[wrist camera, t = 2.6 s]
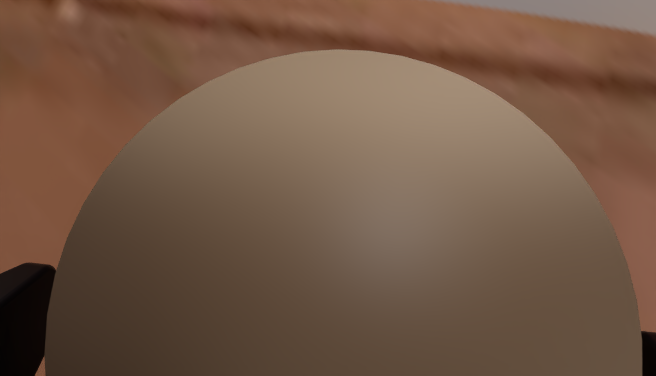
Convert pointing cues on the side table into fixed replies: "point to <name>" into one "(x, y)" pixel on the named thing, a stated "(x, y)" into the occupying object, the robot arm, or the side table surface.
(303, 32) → the side table surface
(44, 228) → the side table surface
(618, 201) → the side table surface
